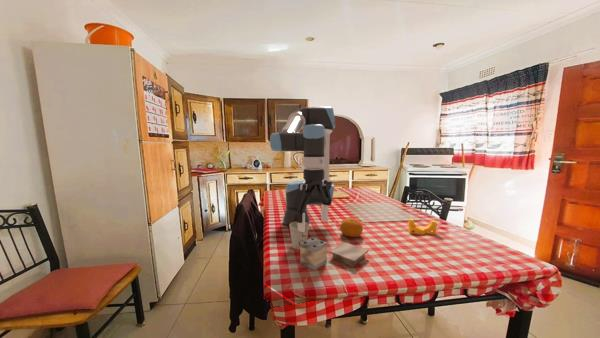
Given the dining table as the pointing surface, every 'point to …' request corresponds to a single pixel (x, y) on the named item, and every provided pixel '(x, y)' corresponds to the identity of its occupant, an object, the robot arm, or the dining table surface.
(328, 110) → the robot arm
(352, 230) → the fruit
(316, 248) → the housing
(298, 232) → the mug
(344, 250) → the stand
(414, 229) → the pipe clamp
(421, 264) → the dining table surface
